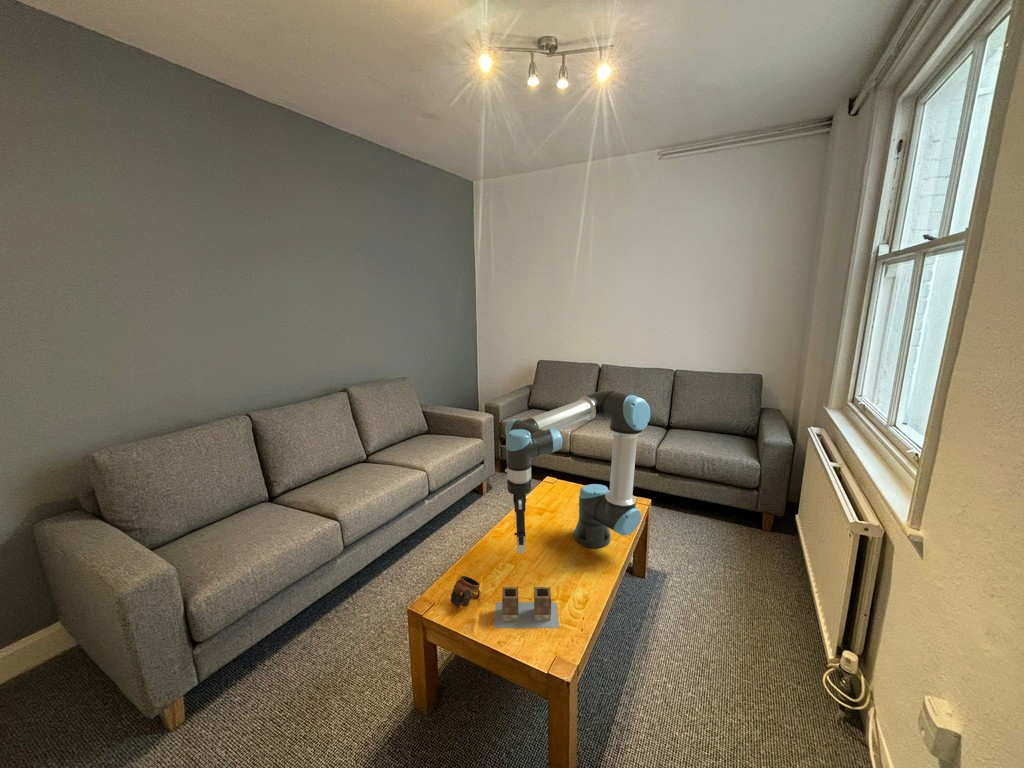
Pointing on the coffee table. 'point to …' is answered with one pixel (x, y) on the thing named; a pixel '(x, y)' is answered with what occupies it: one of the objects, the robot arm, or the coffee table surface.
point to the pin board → (526, 617)
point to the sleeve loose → (510, 604)
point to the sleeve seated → (542, 603)
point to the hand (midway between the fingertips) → (520, 539)
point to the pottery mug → (464, 591)
